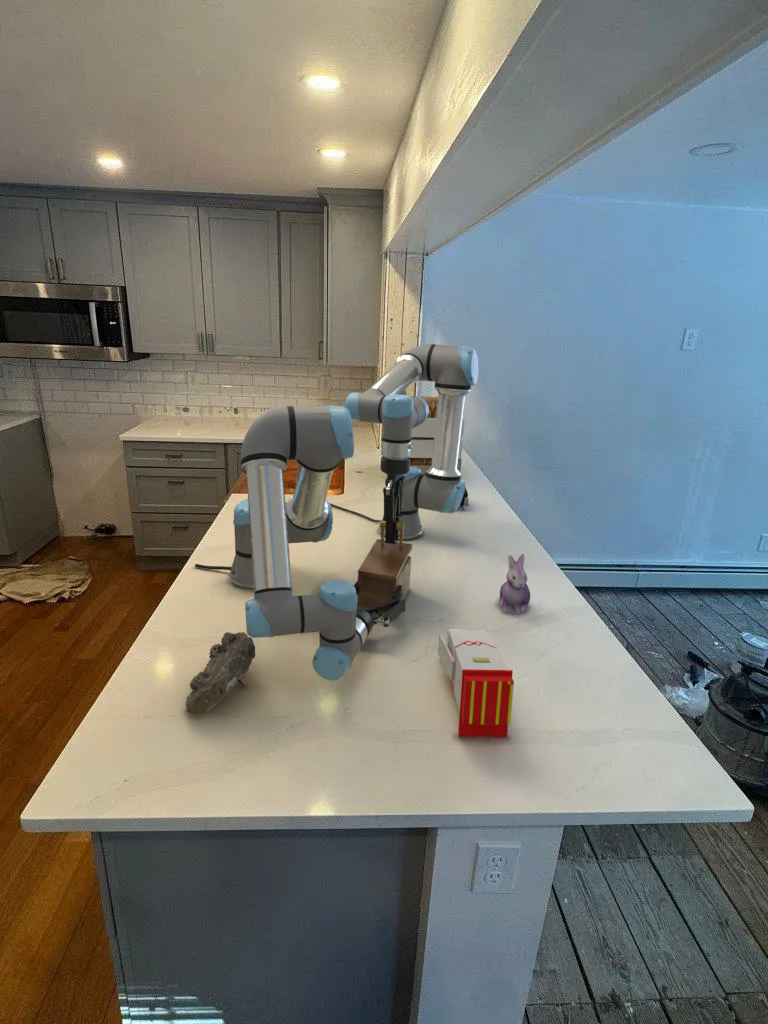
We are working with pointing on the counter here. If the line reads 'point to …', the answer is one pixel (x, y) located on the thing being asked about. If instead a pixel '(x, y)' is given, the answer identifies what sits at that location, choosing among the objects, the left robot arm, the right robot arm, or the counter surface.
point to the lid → (386, 557)
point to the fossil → (221, 671)
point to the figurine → (515, 588)
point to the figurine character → (464, 499)
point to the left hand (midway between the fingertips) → (380, 586)
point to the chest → (382, 587)
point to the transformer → (427, 437)
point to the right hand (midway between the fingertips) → (391, 541)
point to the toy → (478, 682)
